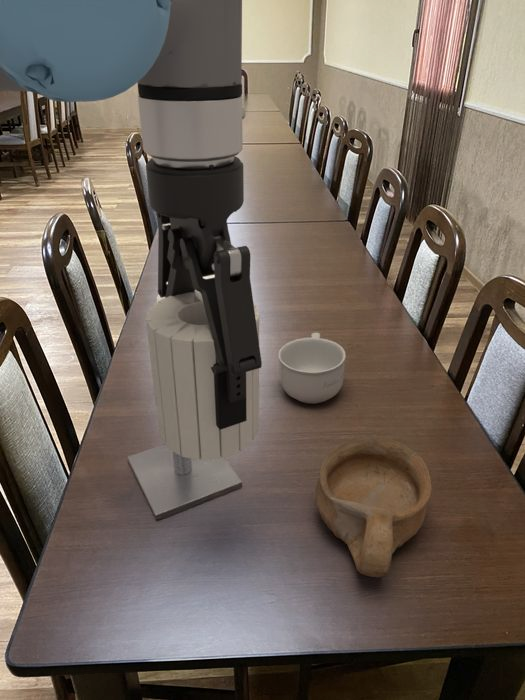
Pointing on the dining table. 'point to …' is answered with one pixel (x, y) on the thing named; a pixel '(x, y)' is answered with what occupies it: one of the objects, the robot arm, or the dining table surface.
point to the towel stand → (180, 480)
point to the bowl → (373, 498)
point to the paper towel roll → (193, 381)
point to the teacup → (312, 368)
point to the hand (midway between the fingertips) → (207, 392)
